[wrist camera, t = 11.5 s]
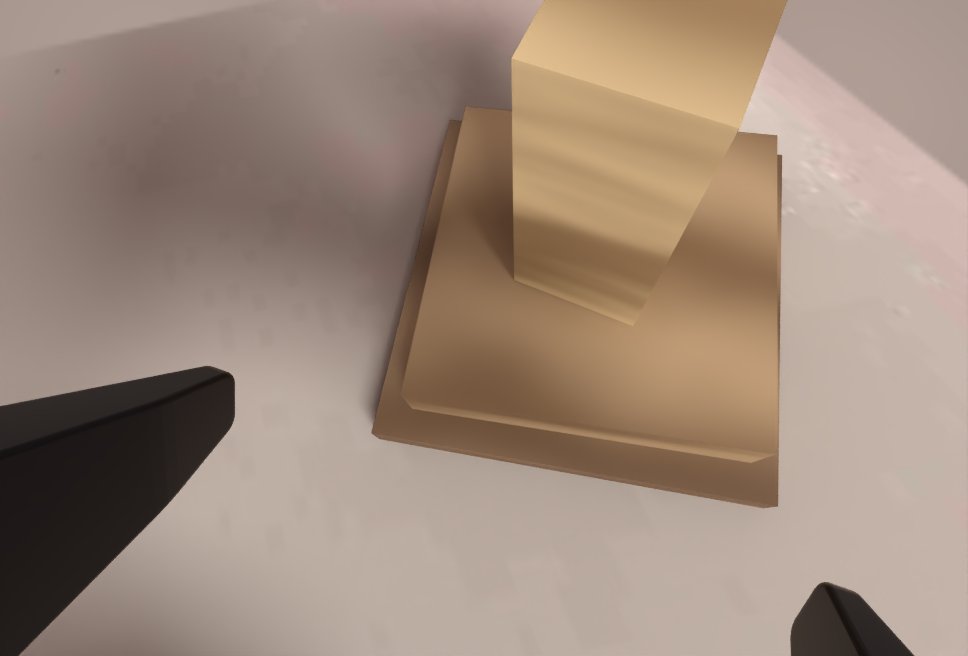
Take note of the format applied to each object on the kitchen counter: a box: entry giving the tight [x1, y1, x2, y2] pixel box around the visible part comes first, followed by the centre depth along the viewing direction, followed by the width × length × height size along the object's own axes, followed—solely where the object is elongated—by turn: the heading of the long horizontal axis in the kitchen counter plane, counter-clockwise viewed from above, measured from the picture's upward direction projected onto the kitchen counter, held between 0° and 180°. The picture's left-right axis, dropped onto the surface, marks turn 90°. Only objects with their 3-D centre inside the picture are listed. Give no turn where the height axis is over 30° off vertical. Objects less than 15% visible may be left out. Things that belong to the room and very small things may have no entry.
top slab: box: [400, 107, 778, 463], centre depth 19 cm, size 11×11×2 cm
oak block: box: [511, 0, 787, 326], centre depth 14 cm, size 4×4×9 cm
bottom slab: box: [372, 120, 782, 508], centre depth 21 cm, size 13×13×2 cm
